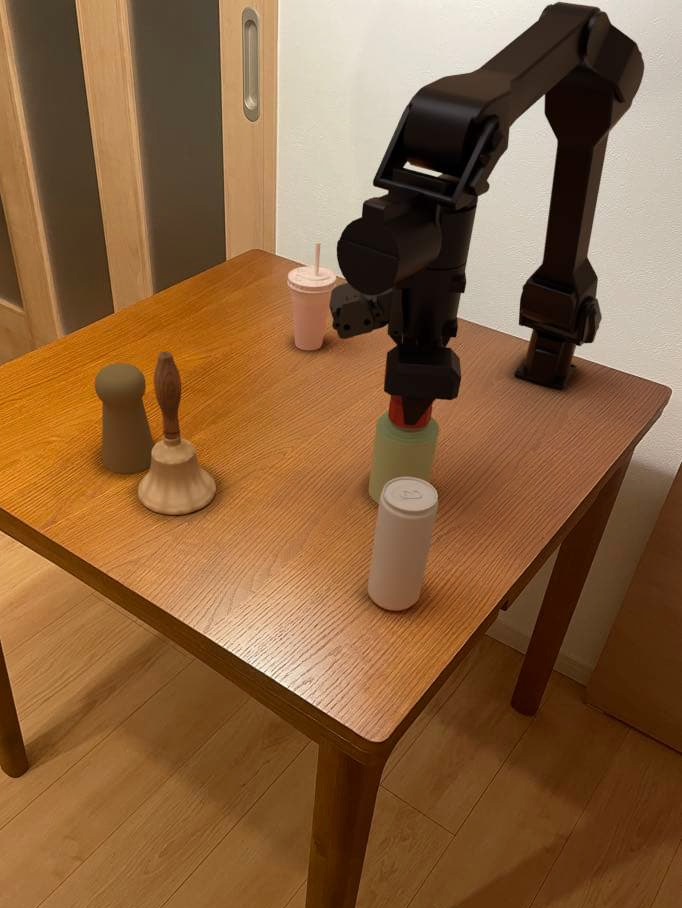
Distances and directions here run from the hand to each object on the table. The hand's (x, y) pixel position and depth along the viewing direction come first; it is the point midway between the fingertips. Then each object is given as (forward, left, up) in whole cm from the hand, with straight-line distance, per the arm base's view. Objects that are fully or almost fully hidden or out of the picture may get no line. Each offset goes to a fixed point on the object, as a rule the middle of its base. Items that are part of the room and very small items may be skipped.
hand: (409, 412), depth 78 cm
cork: (+10, -28, -10) cm, 32 cm away
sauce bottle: (0, 0, -10) cm, 10 cm away
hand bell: (+12, -20, -10) cm, 26 cm away
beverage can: (+14, +6, -10) cm, 19 cm away
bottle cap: (0, 0, +1) cm, 1 cm away
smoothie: (-24, -24, -10) cm, 35 cm away
